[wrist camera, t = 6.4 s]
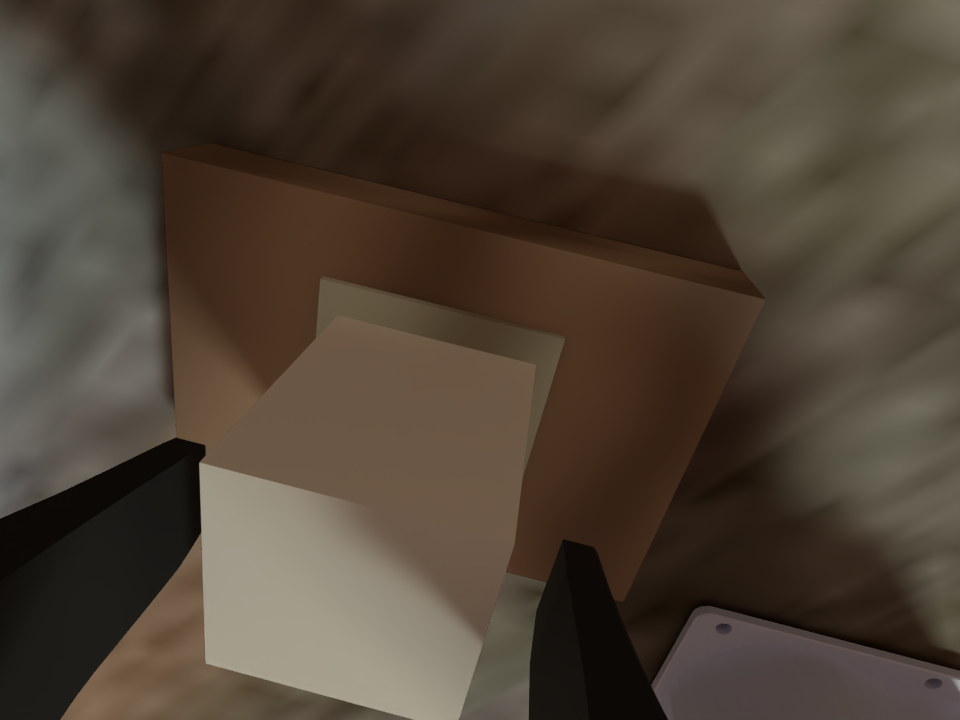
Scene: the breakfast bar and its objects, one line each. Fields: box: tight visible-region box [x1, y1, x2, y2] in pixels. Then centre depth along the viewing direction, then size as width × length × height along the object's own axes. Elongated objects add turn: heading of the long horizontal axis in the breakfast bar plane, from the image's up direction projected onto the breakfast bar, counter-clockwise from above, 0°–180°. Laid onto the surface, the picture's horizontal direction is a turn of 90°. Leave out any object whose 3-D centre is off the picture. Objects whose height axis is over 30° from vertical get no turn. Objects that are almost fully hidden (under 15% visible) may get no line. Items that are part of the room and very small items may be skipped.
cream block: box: [199, 316, 536, 720], centre depth 13 cm, size 5×5×6 cm
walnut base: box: [161, 143, 766, 602], centre depth 16 cm, size 14×10×2 cm
